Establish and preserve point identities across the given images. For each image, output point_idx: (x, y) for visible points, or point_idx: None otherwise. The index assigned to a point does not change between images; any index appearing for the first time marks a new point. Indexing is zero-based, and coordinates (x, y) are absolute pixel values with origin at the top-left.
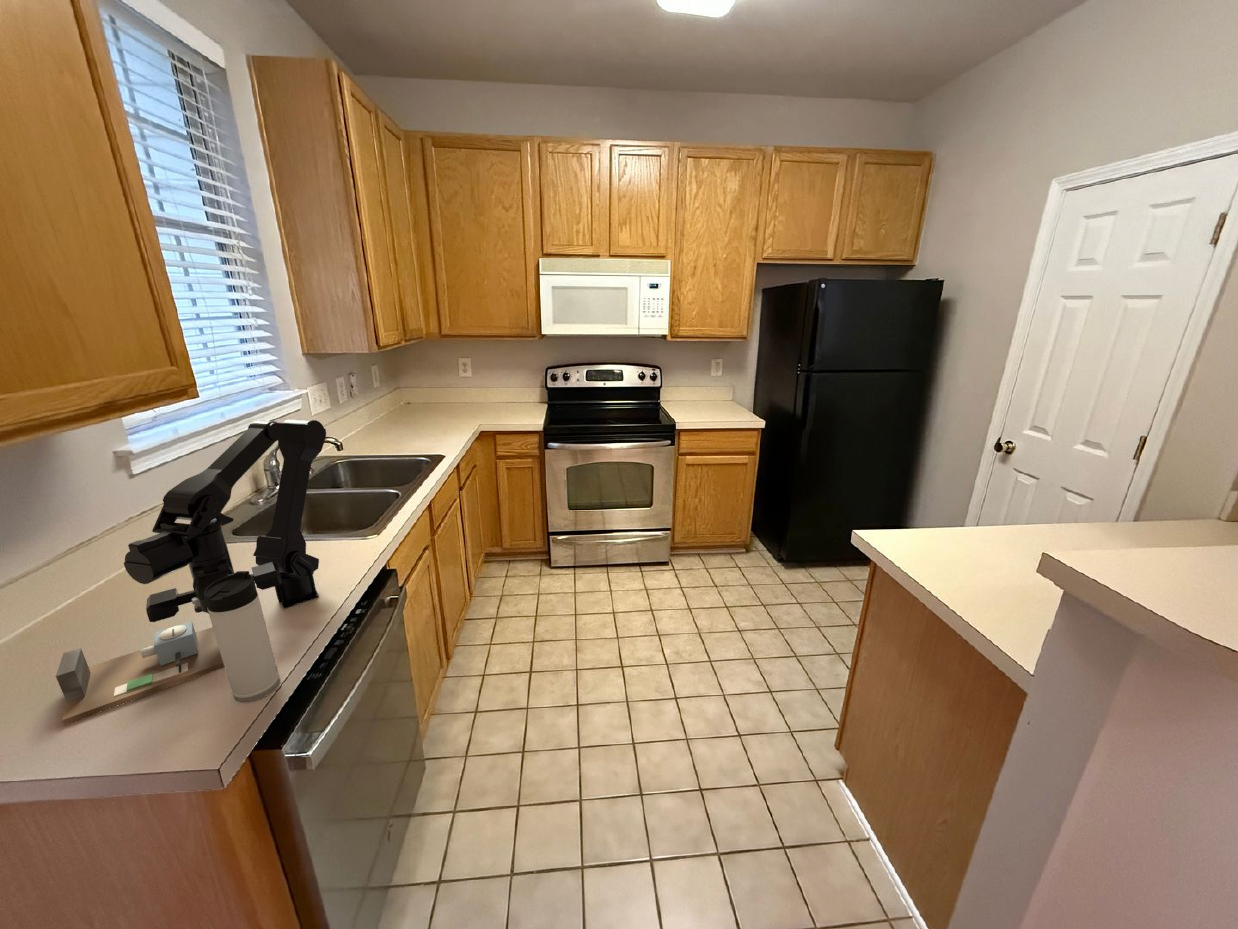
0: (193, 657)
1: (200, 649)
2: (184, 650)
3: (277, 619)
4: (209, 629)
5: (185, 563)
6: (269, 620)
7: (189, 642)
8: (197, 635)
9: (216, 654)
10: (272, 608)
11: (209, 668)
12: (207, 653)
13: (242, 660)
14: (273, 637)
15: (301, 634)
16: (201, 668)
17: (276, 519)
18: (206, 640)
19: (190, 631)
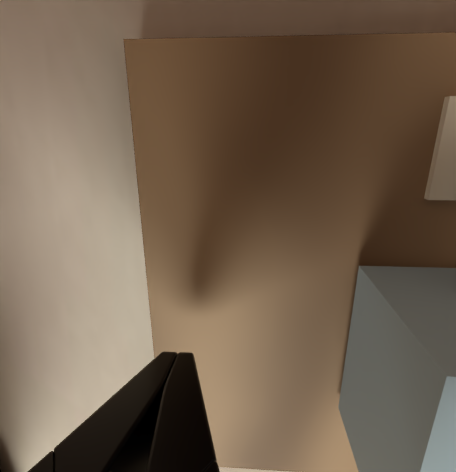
0: (384, 249)
1: (339, 309)
2: (452, 292)
3: (8, 363)
4: (277, 460)
5: None
6: (42, 379)
7: (440, 321)
8: (329, 445)
9: (272, 186)
10: None
11: (328, 39)
12: (314, 238)
13: None
14: (4, 205)
15: None
16: (372, 63)
17: None
18: (301, 376)
19: (446, 433)
